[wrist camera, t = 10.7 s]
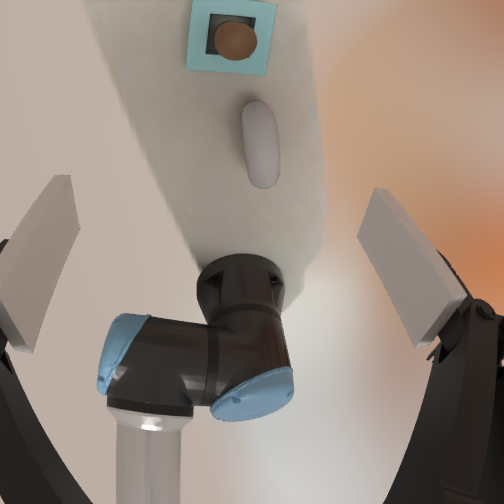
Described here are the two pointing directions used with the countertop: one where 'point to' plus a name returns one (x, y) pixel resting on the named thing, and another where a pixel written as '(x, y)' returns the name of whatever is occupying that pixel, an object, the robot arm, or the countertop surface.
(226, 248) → the countertop surface
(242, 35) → the thick dowel
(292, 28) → the countertop surface
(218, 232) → the countertop surface
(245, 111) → the grey rounded flat slab
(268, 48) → the teal socket block
